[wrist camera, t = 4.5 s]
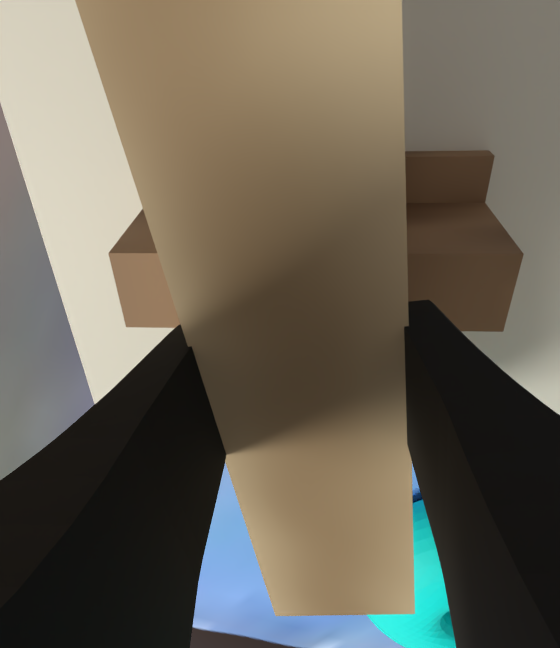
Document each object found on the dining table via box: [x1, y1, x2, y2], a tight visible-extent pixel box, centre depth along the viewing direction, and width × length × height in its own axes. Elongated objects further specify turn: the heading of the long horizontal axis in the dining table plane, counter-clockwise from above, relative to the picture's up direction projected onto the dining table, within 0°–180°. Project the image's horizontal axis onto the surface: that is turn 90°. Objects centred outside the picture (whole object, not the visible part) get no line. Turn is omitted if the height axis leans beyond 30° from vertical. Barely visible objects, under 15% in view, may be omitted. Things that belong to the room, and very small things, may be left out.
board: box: [0, 0, 560, 415], centre depth 15 cm, size 18×14×1 cm
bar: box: [75, 0, 415, 616], centre depth 10 cm, size 4×16×4 cm, turn 9°
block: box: [108, 150, 524, 332], centre depth 13 cm, size 9×4×4 cm, turn 92°
